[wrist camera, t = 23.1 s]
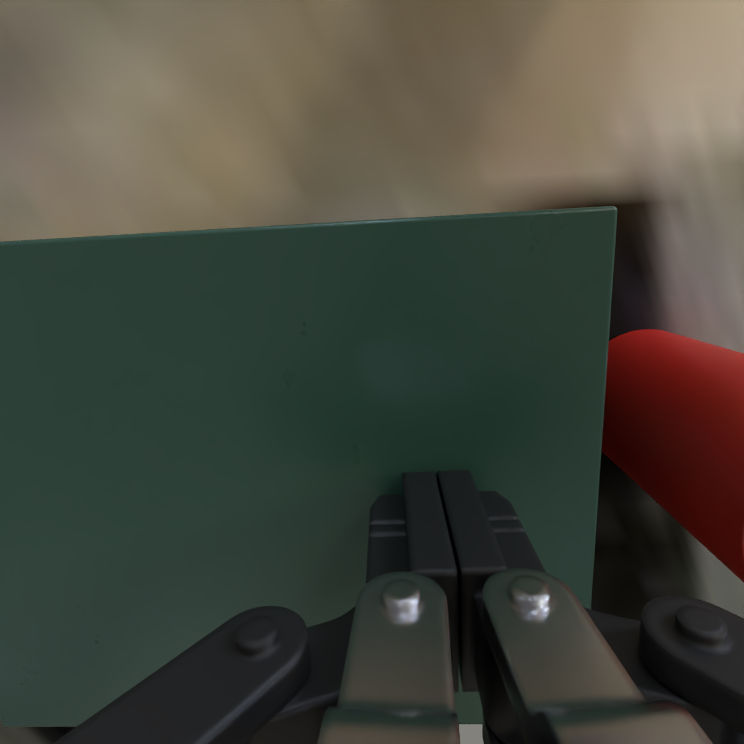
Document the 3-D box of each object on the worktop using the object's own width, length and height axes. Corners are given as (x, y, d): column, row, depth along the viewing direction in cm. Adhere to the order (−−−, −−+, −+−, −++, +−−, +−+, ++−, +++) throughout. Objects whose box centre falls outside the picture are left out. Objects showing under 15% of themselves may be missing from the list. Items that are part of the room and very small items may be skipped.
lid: (602, 208, 10) (619, 205, 9) (572, 697, 13) (584, 725, 12) (-107, 249, 11) (-145, 249, 10) (22, 702, 14) (1, 729, 13)
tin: (575, 332, 18) (762, 412, 9) (715, 325, 18) (1043, 399, 9) (569, 458, 19) (728, 636, 10) (699, 452, 19) (974, 629, 10)
